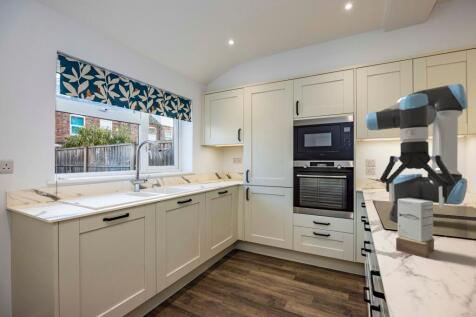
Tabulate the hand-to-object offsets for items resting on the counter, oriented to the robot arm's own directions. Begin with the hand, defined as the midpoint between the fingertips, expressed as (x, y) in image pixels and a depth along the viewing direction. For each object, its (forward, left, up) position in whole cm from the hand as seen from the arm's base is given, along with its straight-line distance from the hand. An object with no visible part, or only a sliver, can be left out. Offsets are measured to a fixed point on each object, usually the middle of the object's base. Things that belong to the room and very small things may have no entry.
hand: (415, 204), depth 77 cm
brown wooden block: (0, 0, -15) cm, 15 cm away
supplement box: (0, 0, -11) cm, 11 cm away
